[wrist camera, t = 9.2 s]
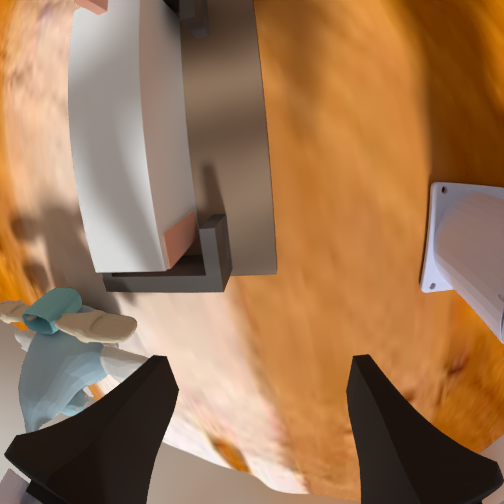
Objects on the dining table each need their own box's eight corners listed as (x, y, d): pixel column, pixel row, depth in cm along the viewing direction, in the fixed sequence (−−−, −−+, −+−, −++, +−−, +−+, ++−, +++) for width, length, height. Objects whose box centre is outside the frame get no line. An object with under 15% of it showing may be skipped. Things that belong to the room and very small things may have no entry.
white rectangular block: (122, 36, 12) (49, 1, 5) (180, 18, 12) (122, -40, 5) (142, 238, 17) (72, 293, 10) (200, 234, 17) (148, 295, 10)
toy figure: (62, 354, 25) (-5, 440, 11) (28, 273, 22) (-70, 351, 8) (191, 377, 23) (138, 522, 9) (164, 274, 20) (36, 445, 6)
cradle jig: (83, 40, 13) (49, 29, 9) (252, -9, 12) (243, -43, 8) (109, 271, 20) (79, 297, 16) (277, 266, 18) (275, 299, 14)
